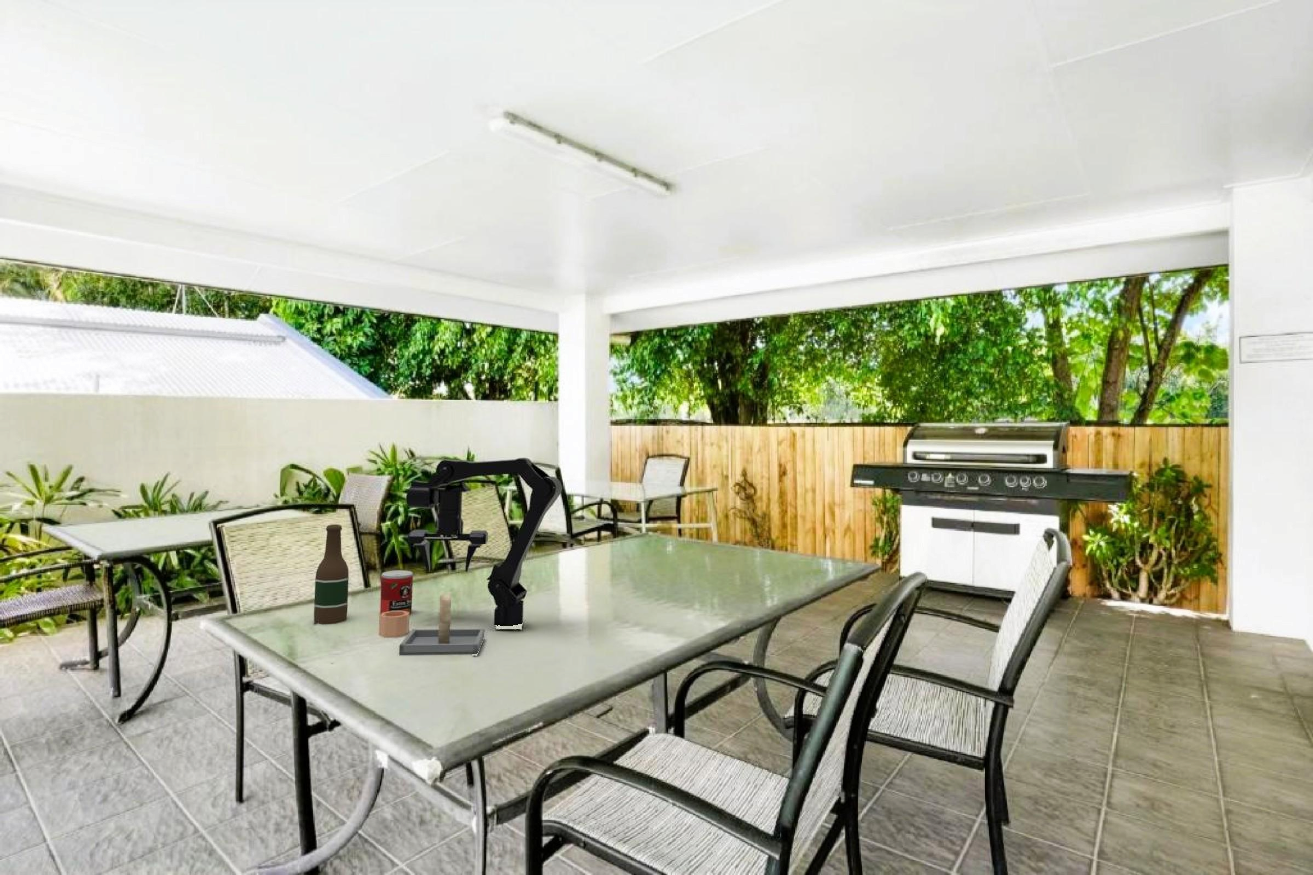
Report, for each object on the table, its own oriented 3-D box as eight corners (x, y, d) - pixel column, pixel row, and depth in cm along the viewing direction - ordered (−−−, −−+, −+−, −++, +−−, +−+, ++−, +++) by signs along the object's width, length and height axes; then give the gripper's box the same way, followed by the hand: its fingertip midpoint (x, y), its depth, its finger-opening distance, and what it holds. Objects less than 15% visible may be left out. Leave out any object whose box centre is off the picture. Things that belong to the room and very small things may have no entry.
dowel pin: (450, 641, 145) (452, 594, 145) (448, 644, 143) (450, 597, 143) (439, 641, 145) (440, 594, 145) (437, 645, 142) (438, 597, 143)
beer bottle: (338, 626, 157) (341, 527, 158) (306, 625, 157) (310, 526, 158) (353, 618, 165) (357, 523, 165) (323, 617, 165) (326, 522, 166)
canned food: (390, 621, 164) (392, 577, 164) (373, 615, 169) (375, 572, 169) (417, 615, 170) (419, 573, 170) (400, 610, 175) (402, 569, 175)
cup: (410, 631, 155) (411, 610, 155) (404, 638, 149) (405, 617, 149) (383, 631, 154) (384, 610, 155) (376, 639, 148) (377, 617, 149)
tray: (484, 639, 151) (484, 628, 151) (477, 656, 139) (477, 644, 139) (412, 640, 149) (412, 629, 149) (399, 657, 137) (399, 645, 137)
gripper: (491, 506, 173) (489, 565, 173) (418, 505, 170) (416, 565, 170) (486, 511, 162) (484, 573, 162) (408, 509, 159) (405, 573, 159)
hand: (447, 571), depth 163 cm, fingers open, 9 cm apart
